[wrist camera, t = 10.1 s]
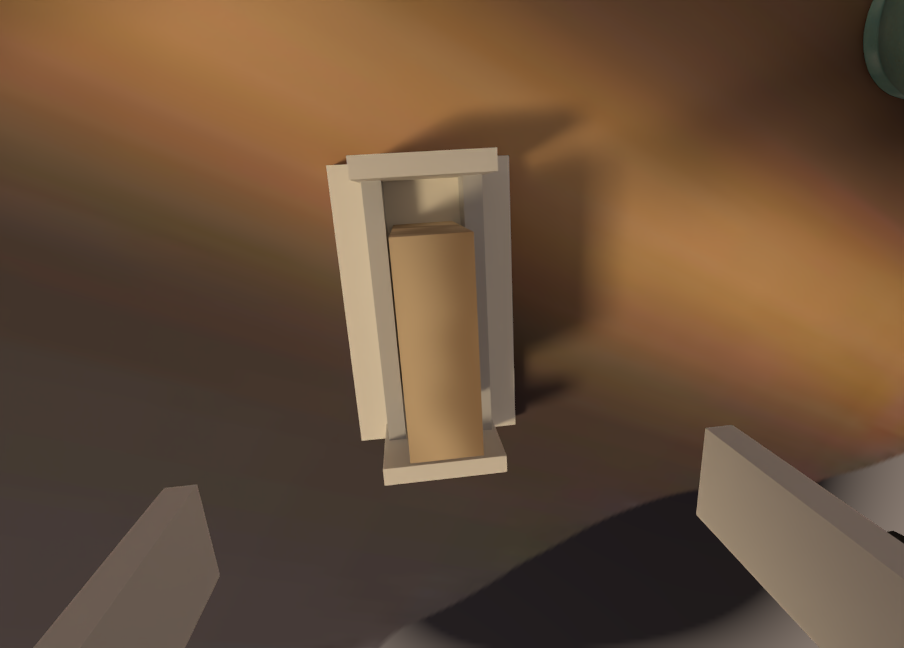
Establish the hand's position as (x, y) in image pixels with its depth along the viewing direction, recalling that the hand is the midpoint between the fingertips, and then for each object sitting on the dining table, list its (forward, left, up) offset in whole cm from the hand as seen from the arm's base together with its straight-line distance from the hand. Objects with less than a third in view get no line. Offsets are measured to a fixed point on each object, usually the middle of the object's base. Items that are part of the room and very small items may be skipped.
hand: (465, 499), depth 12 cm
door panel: (0, 0, -21) cm, 21 cm away
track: (0, 0, -23) cm, 23 cm away
